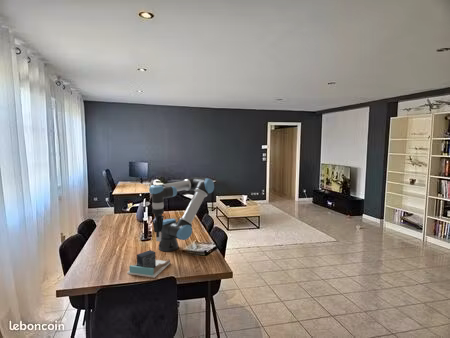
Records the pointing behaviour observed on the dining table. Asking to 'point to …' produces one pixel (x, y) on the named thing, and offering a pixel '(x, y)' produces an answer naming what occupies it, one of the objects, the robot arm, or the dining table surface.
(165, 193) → the robot arm
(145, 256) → the small box
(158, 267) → the light blue shallow tray
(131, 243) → the dining table surface
